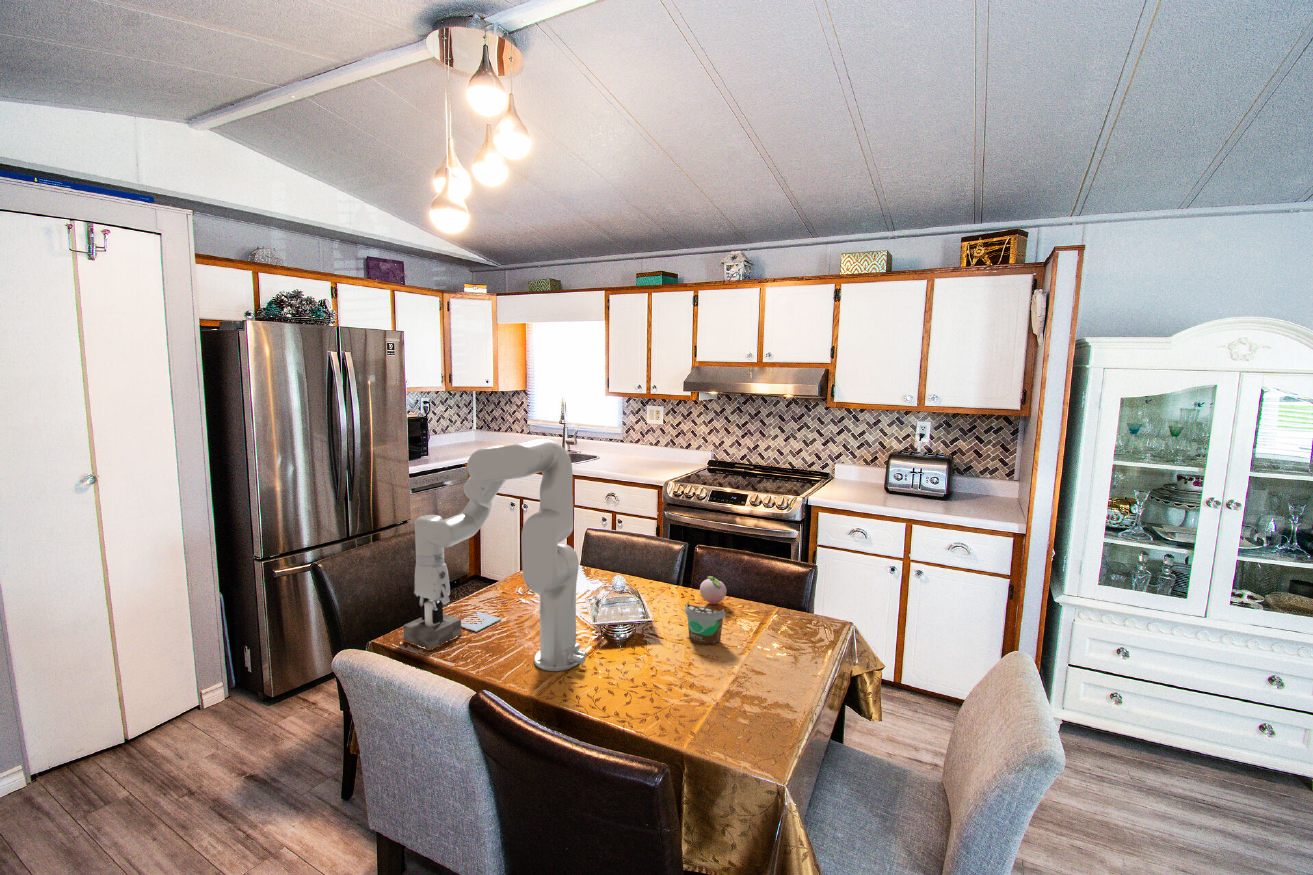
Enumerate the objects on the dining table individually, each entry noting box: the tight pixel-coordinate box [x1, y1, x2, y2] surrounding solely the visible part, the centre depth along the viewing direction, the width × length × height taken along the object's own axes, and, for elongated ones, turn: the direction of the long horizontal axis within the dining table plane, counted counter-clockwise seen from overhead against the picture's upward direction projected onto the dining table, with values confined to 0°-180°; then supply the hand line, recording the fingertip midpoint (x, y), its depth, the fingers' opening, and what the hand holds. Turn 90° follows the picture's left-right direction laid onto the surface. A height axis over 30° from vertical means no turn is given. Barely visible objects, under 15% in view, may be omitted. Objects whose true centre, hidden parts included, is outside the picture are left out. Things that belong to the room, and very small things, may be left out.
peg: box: [424, 599, 440, 627], centre depth 160 cm, size 4×4×11 cm
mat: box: [461, 611, 502, 632], centre depth 171 cm, size 10×10×1 cm
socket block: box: [402, 613, 462, 649], centre depth 161 cm, size 11×11×5 cm
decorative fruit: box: [699, 575, 727, 605], centre depth 186 cm, size 9×8×10 cm
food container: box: [684, 600, 726, 647], centre depth 160 cm, size 12×6×10 cm, turn 62°
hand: (432, 619), depth 160 cm, fingers closed on peg, 4 cm apart
